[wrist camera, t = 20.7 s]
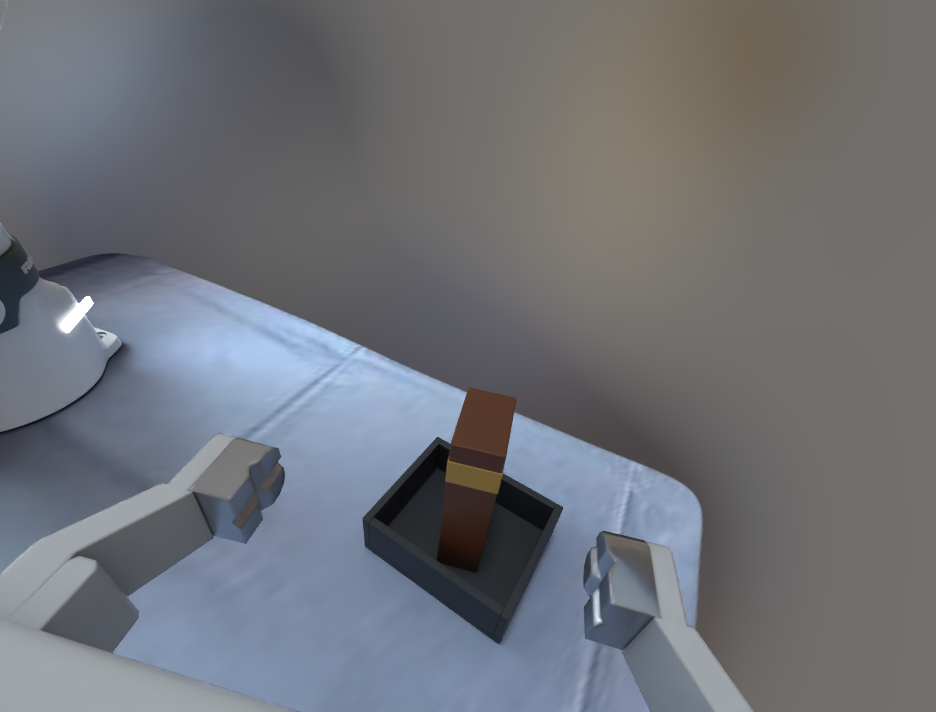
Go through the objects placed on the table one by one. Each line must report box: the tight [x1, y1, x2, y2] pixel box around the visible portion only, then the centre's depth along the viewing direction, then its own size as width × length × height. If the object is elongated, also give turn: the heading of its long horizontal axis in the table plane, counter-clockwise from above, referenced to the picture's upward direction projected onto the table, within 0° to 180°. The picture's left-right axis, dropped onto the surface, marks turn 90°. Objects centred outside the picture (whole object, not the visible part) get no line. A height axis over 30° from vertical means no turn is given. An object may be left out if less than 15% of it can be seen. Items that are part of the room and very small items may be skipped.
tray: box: [363, 437, 563, 644], centre depth 33 cm, size 12×10×4 cm
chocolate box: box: [437, 388, 516, 572], centre depth 29 cm, size 3×5×14 cm, turn 168°
